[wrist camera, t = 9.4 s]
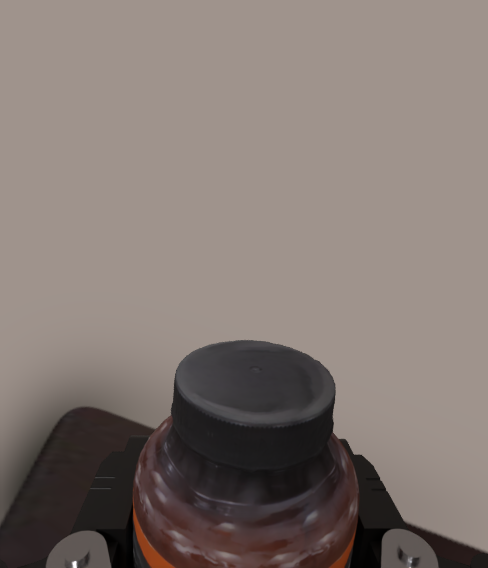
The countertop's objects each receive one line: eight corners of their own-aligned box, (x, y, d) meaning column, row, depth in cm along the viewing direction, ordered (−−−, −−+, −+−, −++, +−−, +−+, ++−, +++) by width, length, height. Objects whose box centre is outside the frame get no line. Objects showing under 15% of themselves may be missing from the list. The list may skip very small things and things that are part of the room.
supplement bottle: (123, 621, 13) (117, 334, 10) (266, 563, 16) (292, 318, 13) (153, 910, 8) (160, 489, 5) (362, 754, 10) (441, 411, 8)
